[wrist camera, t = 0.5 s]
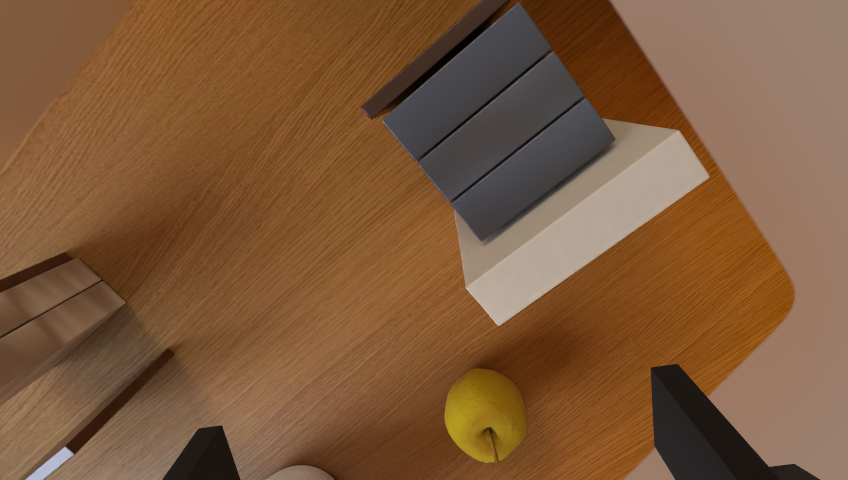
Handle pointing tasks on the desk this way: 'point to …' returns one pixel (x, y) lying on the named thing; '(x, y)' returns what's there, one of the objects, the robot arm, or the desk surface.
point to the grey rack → (491, 115)
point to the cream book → (578, 217)
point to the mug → (300, 474)
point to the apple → (486, 415)
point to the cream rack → (58, 340)
